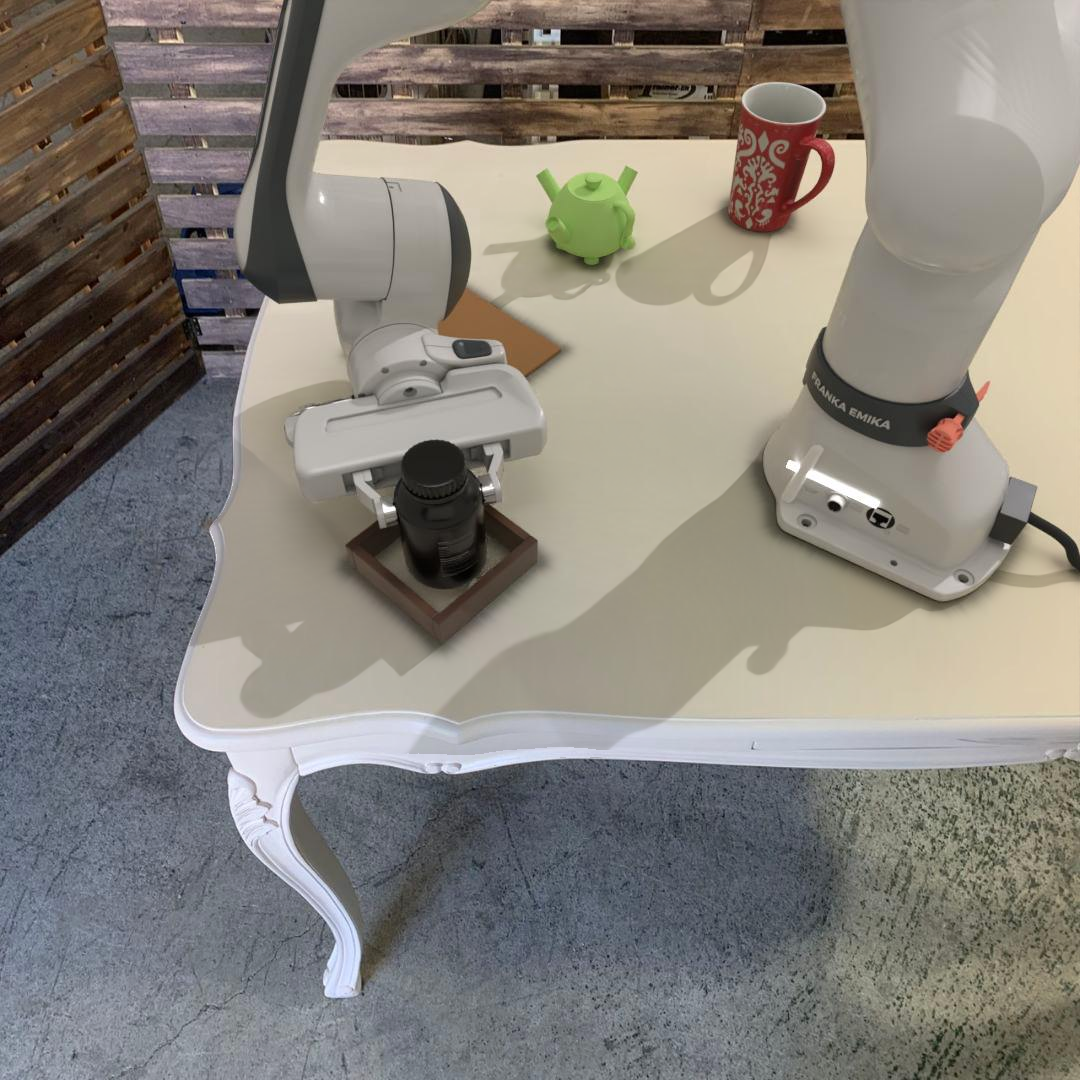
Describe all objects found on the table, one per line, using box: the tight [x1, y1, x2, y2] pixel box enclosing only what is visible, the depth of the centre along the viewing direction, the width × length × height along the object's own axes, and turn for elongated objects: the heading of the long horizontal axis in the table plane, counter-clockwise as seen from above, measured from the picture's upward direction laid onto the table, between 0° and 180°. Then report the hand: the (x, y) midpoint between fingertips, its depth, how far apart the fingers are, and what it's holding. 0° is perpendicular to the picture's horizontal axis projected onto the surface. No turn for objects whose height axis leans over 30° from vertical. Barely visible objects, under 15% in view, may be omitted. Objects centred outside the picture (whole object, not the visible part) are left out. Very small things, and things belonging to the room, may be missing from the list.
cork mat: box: [438, 287, 562, 378], centre depth 91 cm, size 15×15×1 cm
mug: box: [727, 81, 836, 232], centre depth 100 cm, size 13×9×14 cm
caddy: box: [344, 504, 539, 645], centre depth 74 cm, size 11×11×3 cm
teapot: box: [535, 165, 639, 266], centre depth 99 cm, size 11×12×8 cm
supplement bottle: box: [392, 439, 488, 591], centre depth 70 cm, size 7×7×12 cm
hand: (441, 510), depth 68 cm, fingers closed on supplement bottle, 7 cm apart
